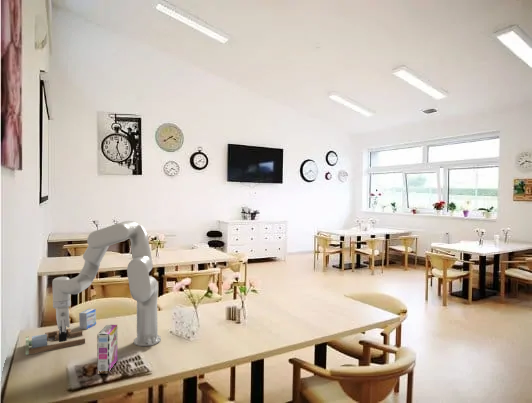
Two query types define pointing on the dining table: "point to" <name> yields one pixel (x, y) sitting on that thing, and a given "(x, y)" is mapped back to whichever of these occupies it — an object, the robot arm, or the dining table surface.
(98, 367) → the candy bar box
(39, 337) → the block
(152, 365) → the dining table surface
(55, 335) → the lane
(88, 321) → the medicine box
